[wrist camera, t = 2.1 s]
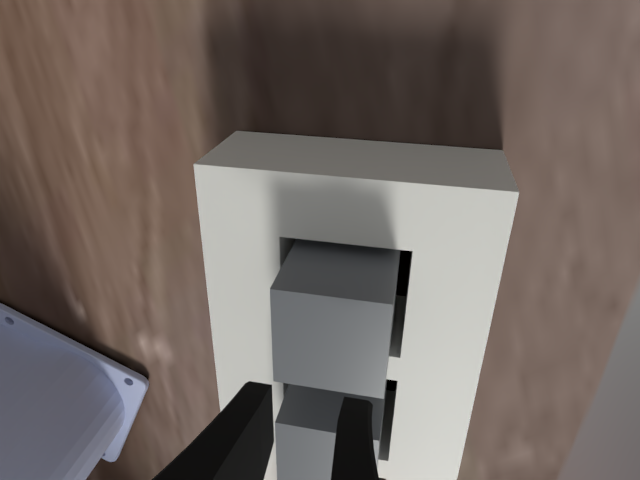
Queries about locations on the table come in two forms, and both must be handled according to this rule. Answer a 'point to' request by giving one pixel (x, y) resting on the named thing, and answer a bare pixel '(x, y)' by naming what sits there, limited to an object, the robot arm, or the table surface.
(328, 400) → the grey button
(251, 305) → the button panel
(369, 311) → the grey button
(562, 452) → the table surface
